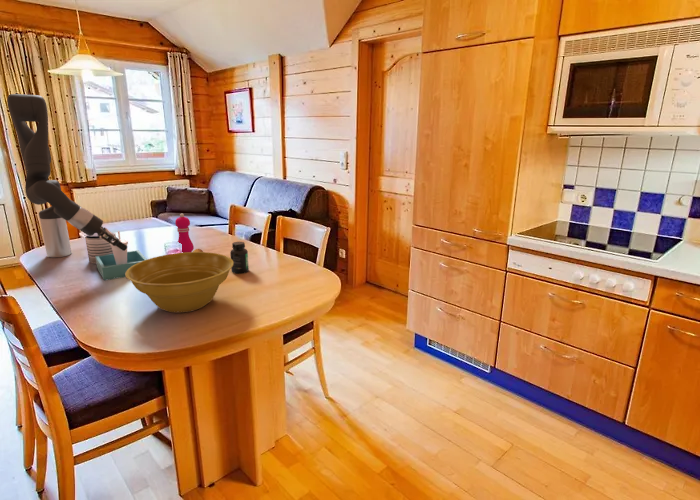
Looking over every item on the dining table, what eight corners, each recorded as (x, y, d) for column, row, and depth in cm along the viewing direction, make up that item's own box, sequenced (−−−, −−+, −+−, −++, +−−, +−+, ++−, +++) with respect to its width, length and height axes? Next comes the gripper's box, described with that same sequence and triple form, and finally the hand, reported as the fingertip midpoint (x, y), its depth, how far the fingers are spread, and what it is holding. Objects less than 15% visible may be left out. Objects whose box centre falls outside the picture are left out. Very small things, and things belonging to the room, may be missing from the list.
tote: (97, 267, 170) (95, 256, 169) (139, 261, 179) (138, 250, 178) (104, 280, 156) (102, 267, 155) (149, 272, 166) (148, 260, 164)
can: (82, 261, 178) (78, 234, 174) (106, 254, 188) (102, 229, 184) (101, 265, 174) (97, 237, 170) (125, 257, 184) (121, 231, 180)
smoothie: (123, 268, 163) (118, 233, 160) (109, 266, 165) (104, 232, 161) (134, 263, 170) (130, 229, 166) (120, 262, 171) (116, 228, 167)
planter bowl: (126, 334, 116) (120, 289, 112) (133, 293, 144) (128, 257, 141) (243, 316, 129) (241, 275, 125) (228, 282, 157) (226, 248, 153)
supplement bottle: (252, 271, 169) (250, 243, 166) (237, 275, 164) (235, 246, 161) (242, 267, 174) (241, 239, 170) (228, 271, 169) (226, 242, 165)
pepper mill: (197, 255, 188) (194, 212, 183) (187, 260, 182) (182, 215, 176) (184, 254, 191) (180, 211, 185) (173, 258, 184) (169, 214, 178)
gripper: (95, 216, 151) (134, 243, 161) (89, 210, 162) (127, 235, 172) (80, 232, 150) (121, 258, 160) (76, 225, 161) (114, 250, 171)
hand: (124, 246), depth 166 cm, fingers closed on smoothie, 6 cm apart
